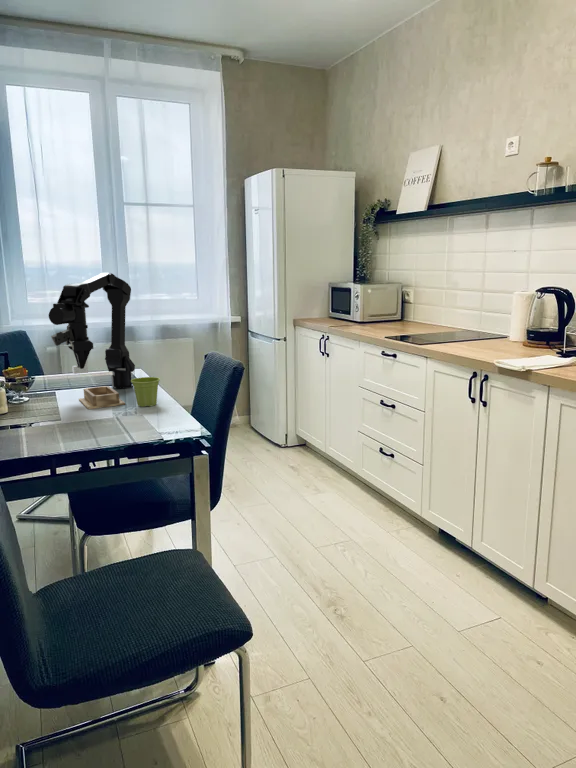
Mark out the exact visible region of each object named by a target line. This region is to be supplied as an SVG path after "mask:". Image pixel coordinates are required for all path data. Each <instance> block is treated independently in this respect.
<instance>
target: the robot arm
mask: <svg viewBox="0 0 576 768" xmlns="http://www.w3.org/2000/svg"><path fill="white" fill-rule="evenodd" d="M100 289H102V290H103V291H104V292H105V293H106V296H107V300H108V302H109V304H110V305H111V323H110V324H111V326H110V327H111V335H110V337H111V339H110V340H111V341H110V345H109V347H108V348H105V352H104V353H105V358H104V360H105V364H106V367H107V370H108V372H110V373H111V372H112V374H111V377H110V378H111V386H112V387H113V388H114V389H115V390H118V389H128V388H129V389H130V388H134V386H133V384H132V382H131V380H132V373H133V372H135V368H136V364H135V363H134V362H133V361H132V359H131V358H130V352H129V349H128V348H127V346H126V308H127V307H126V306H127V305H128V303H129V302H130V300H131V294H132V289H131V286H130V285H129V283H128V282H126V281H125V280H123V279H122V278H120V277H118V276H116V275H115V274H114V273H112V272H100V273H99V274H98V275H95V276H93V277H91V278H88V279H86V280H84V281H82V282H77V283H75V282H74V283H67V284H65V285H63V287H62V290H61V293H60V295H59V297H58V300H57V302H55V303H52V308H51V309H50V310H49V311H48V312H49V313H48V318H49V321H50V323H52V324H53V325H56V326H61V325H65V324H67V325H66V329H64V330H61V331H59V332H56V333H55V334H53V335H51V336H50V337H51V340H52V341H53V343H54V346H60V345H61V344H63V343H65V345H67V347H68V349H69V350H71V351H72V352H73V355H74V358H75V361H76V366H80V369H84V366H85V364H86V361H87V362H88V358H89V356H90V353H91V351H92V350H94V343H93V342H92V341H91V340H90V339H89V336H88V327H89V326H88V324H87V315H86V314H87V313H86V309H87V308H89V307H90V306H89V304H88V303H86V301H87V300H88V299H89V298H90V297H91V294H92V293H94V292H96V291H98V290H100Z"/></svg>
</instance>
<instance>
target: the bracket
mask: <svg viewBox="0 0 576 768" xmlns="http://www.w3.org/2000/svg"><path fill="white" fill-rule="evenodd" d="M71 372H72V373H73V374H85V373H89V365H88V360H87V361H86V364H85V366H84V369H80V366H78V365H72V366H71Z"/></svg>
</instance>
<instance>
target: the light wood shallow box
mask: <svg viewBox="0 0 576 768" xmlns="http://www.w3.org/2000/svg"><path fill="white" fill-rule="evenodd" d="M78 401H79V402H80V403H81V404H82V405H83V406H84V407H85V408H86V409H87V410H94V409H100V408H109V407H116V406H125V405H126V402H125V401H123V400H122V399H121V398H120V393H119V392H118V391H116V389H113V388H112V387H110V385H103V386H94V387H93V386H92V387H86V388H83V397H82V398H78Z"/></svg>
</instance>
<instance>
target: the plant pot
mask: <svg viewBox="0 0 576 768" xmlns="http://www.w3.org/2000/svg"><path fill="white" fill-rule="evenodd" d="M160 380H161V378H160V377H156V376H155V377H154V376H144V377H142V376H141V377H137V378H135V377H134V378H131V382H132V385H133V391H134V394H135V399H136V402H137V403H136V404H137V406H138V407H144V408H145V407H153V406H156V405H157V402H158V401H157V400H158V388H159V383H160Z"/></svg>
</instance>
